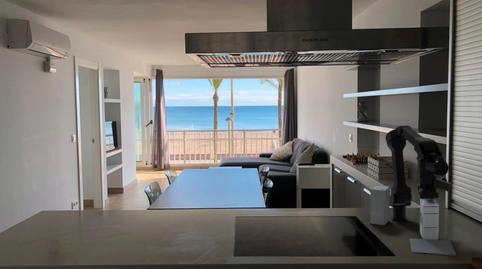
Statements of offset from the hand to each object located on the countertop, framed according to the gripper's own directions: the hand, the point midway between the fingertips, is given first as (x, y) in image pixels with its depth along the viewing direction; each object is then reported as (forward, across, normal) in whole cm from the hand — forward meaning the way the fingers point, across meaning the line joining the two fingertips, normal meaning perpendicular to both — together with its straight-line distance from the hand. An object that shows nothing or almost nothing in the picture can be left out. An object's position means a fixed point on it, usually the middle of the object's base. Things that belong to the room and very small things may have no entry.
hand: (427, 211), depth 164 cm
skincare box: (+9, +14, +18) cm, 25 cm away
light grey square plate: (+9, -15, 0) cm, 18 cm away
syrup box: (+9, -4, 0) cm, 10 cm away
